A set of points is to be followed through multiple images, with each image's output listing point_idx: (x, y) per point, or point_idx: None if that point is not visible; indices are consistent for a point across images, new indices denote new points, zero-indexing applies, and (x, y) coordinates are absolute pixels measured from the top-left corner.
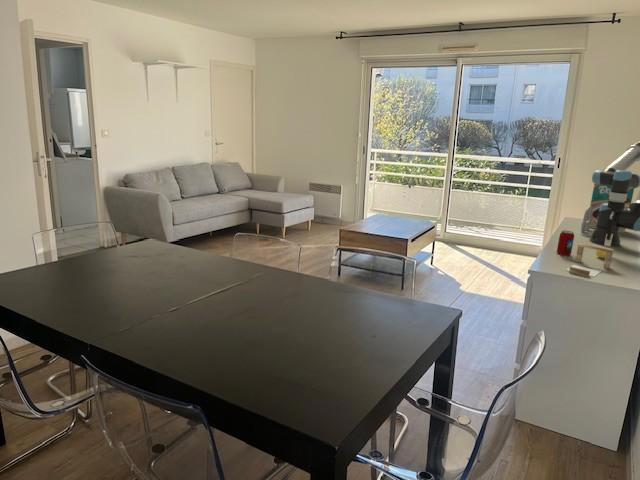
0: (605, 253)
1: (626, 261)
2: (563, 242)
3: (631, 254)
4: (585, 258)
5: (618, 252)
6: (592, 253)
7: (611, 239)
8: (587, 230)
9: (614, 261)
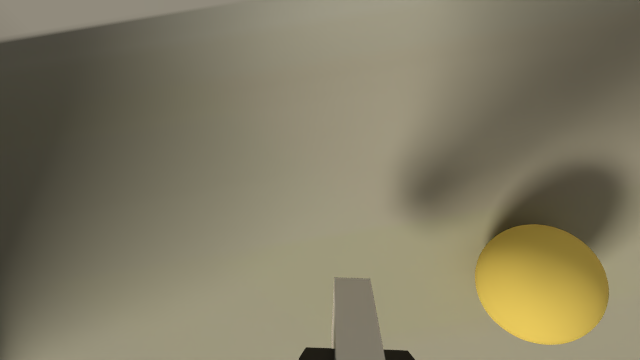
0: (591, 252)
1: (471, 46)
2: None
3: (91, 58)
4: (630, 339)
5: (134, 176)
6: (396, 333)
7: (368, 337)
8: None
9: (563, 140)
